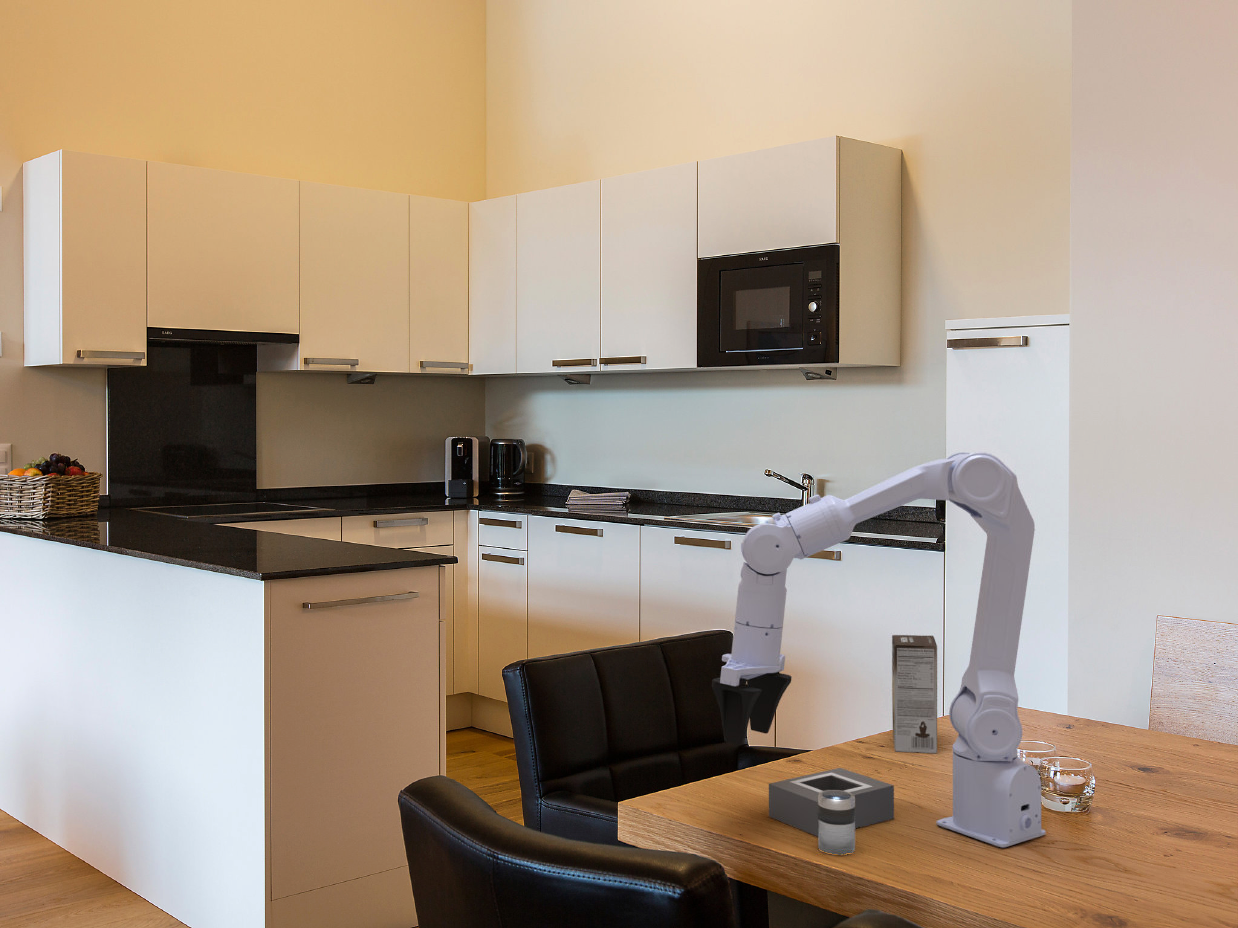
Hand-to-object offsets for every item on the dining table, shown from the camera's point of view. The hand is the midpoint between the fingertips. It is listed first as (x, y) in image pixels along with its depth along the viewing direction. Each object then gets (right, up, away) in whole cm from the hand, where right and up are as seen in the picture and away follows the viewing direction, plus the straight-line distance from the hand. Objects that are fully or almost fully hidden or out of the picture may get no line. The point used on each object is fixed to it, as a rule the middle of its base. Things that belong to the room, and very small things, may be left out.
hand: (746, 736), depth 129 cm
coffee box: (+29, -10, +35) cm, 47 cm away
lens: (+9, -10, -9) cm, 16 cm away
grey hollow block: (+10, -10, +2) cm, 15 cm away
